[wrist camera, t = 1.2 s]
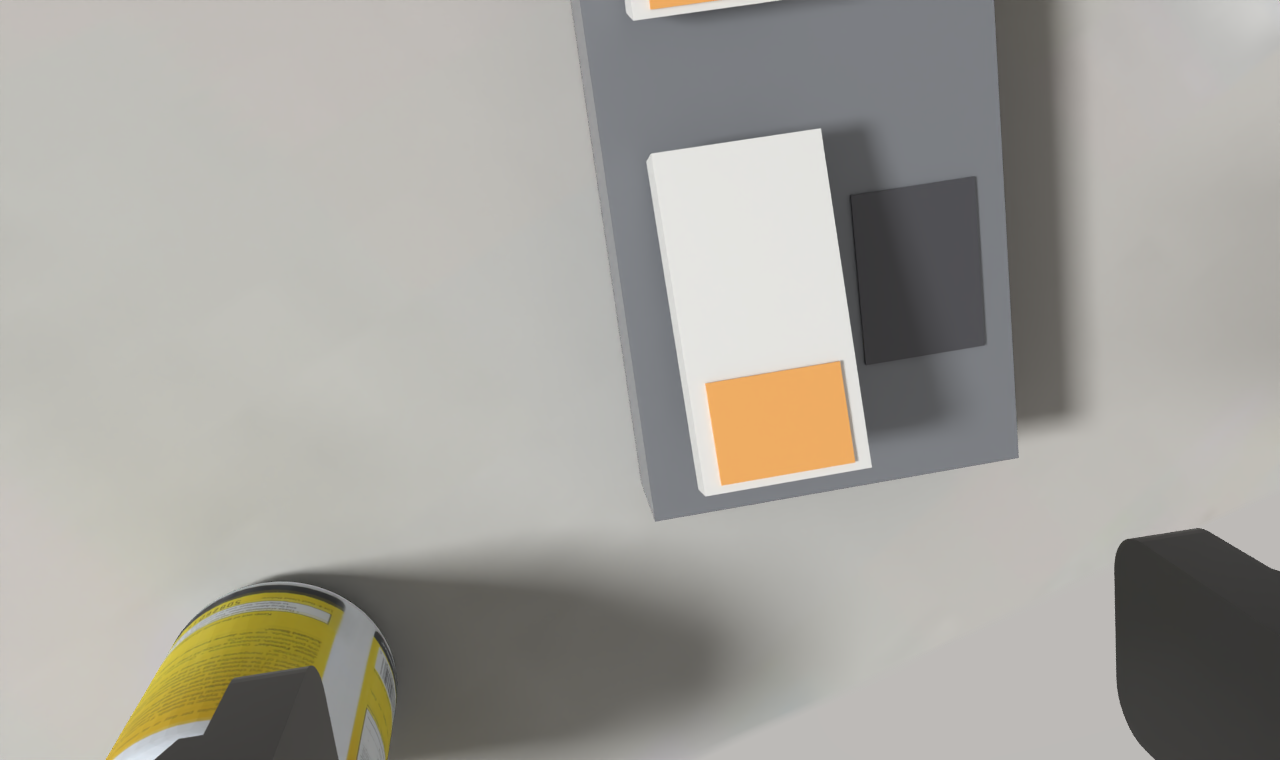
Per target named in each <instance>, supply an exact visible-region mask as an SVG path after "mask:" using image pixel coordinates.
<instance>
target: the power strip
mask: <svg viewBox="0 0 1280 760" xmlns="http://www.w3.org/2000/svg"><path fill="white" fill-rule="evenodd" d="M571 7H572V14H573V20H574V27H575V34H576V41H577V48H578V54H579V61H580V68H581V75H582V82H583V88H584V95H585V102H586V109H587V116H588V122H589V129H590V136H591V143H592V150H593V156H594V163H595V170H596V177H597V184H598V190H599V197H600V204H601V211H602V218H603V224H604V231H605V238H606V245H607V252H608V258H609V265H610V272H611V279H612V286H613V292H614V299H615V306H616V313H617V320H618V327H619V333H620V340H621V347H622V354H623V361H624V367H625V374H626V381H627V388H628V395H629V401H630V408H631V415H632V422H633V429H634V435H635V442H636V449H637V456H638V463H639V469H640V476H641V483H642V486H643V489H644V492H645V495H646V497H647V500H648V503H649V506H650V509H651V511H652V514H653V517H654V520H655V522H656V521H661V520H667V519H673V518H678V517H684V516H690V515H696V514H701V513H707V512H713V511H718V510H724V509H730V508H735V507H741V506H747V505H753V504H758V503H764V502H770V501H775V500H781V499H787V498H792V497H798V496H804V495H809V494H815V493H821V492H827V491H832V490H838V489H844V488H849V487H855V486H861V485H866V484H872V483H878V482H884V481H889V480H895V479H901V478H906V477H912V476H918V475H923V474H929V473H935V472H941V471H946V470H952V469H958V468H963V467H969V466H975V465H980V464H986V463H992V462H998V461H1003V460H1009V459H1015V458H1019V455H1018V436H1017V418H1016V399H1015V381H1014V362H1013V344H1012V325H1011V307H1010V288H1009V270H1008V251H1007V233H1006V214H1005V196H1004V177H1003V159H1002V140H1001V121H1000V103H999V84H998V66H997V47H996V29H995V10H994V0H778V1H771V2H764V3H757V4H750V5H743V6H735V7H728V8H721V9H714V10H707V11H700V12H692V13H685V14H678V15H671V16H664V17H657V18H650V19H642V20H635V21H633V20H632V19H631V18H630V17H629V16H628V14H627V13H626V8H625V0H571ZM819 128H821V133H822V140H823V146H824V153H825V160H826V166H827V173H828V179H829V186H830V193H831V199H832V206H833V213H834V219H835V226H836V233H837V239H838V246H839V252H840V259H841V266H842V272H843V279H844V286H845V292H846V299H847V305H848V312H849V319H850V325H851V332H852V339H853V345H854V352H855V358H856V365H857V372H858V378H859V385H860V392H861V398H862V405H863V411H864V418H865V425H866V431H867V438H868V445H869V451H870V458H871V465H872V468H866V469H860V470H855V471H849V472H843V473H837V474H832V475H826V476H820V477H815V478H809V479H803V480H797V481H792V482H786V483H780V484H774V485H769V486H763V487H757V488H751V489H746V490H740V491H734V492H729V493H723V494H717V495H711V496H706V497H705V496H704V495H703V494H702V493H701V492H700V491H699V490H698V484H697V478H696V471H695V465H694V459H693V453H692V446H691V440H690V434H689V427H688V421H687V415H686V409H685V402H684V396H683V390H682V383H681V377H680V371H679V365H678V358H677V352H676V346H675V339H674V333H673V327H672V321H671V314H670V308H669V302H668V295H667V289H666V283H665V277H664V270H663V264H662V258H661V251H660V245H659V239H658V233H657V226H656V220H655V214H654V207H653V201H652V195H651V189H650V182H649V176H648V170H647V163H646V161H647V160H648V158H649V156H650V154H652V153H658V152H665V151H672V150H679V149H685V148H692V147H699V146H705V145H712V144H719V143H725V142H732V141H739V140H746V139H752V138H759V137H766V136H772V135H779V134H786V133H792V132H799V131H806V130H812V129H819Z"/></svg>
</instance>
